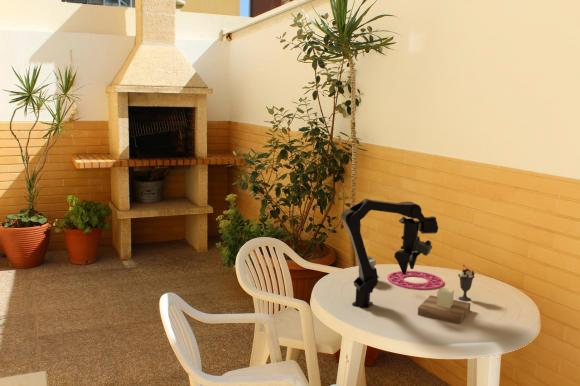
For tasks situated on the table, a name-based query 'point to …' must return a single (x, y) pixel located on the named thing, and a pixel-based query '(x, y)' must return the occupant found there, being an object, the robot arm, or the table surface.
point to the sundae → (466, 282)
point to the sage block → (445, 297)
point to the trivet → (415, 285)
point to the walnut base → (444, 310)
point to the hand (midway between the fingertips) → (408, 271)
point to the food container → (371, 260)
